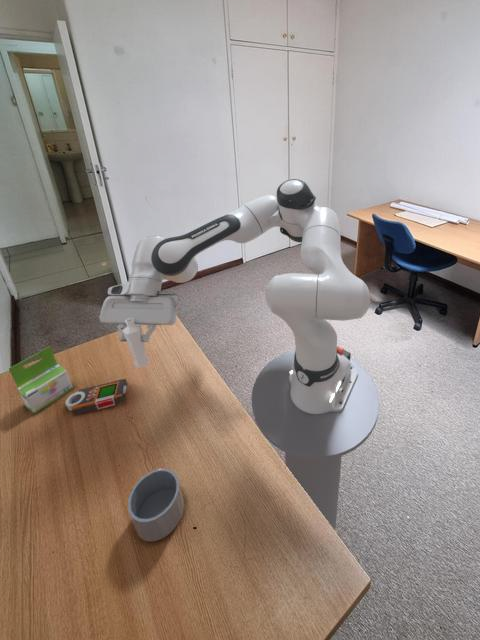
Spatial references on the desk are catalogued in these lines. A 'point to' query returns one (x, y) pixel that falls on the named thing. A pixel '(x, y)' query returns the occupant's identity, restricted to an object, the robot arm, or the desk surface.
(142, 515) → the short grey cup
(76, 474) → the desk surface
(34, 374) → the ink box
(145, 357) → the perfume bottle
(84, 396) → the electronic device
